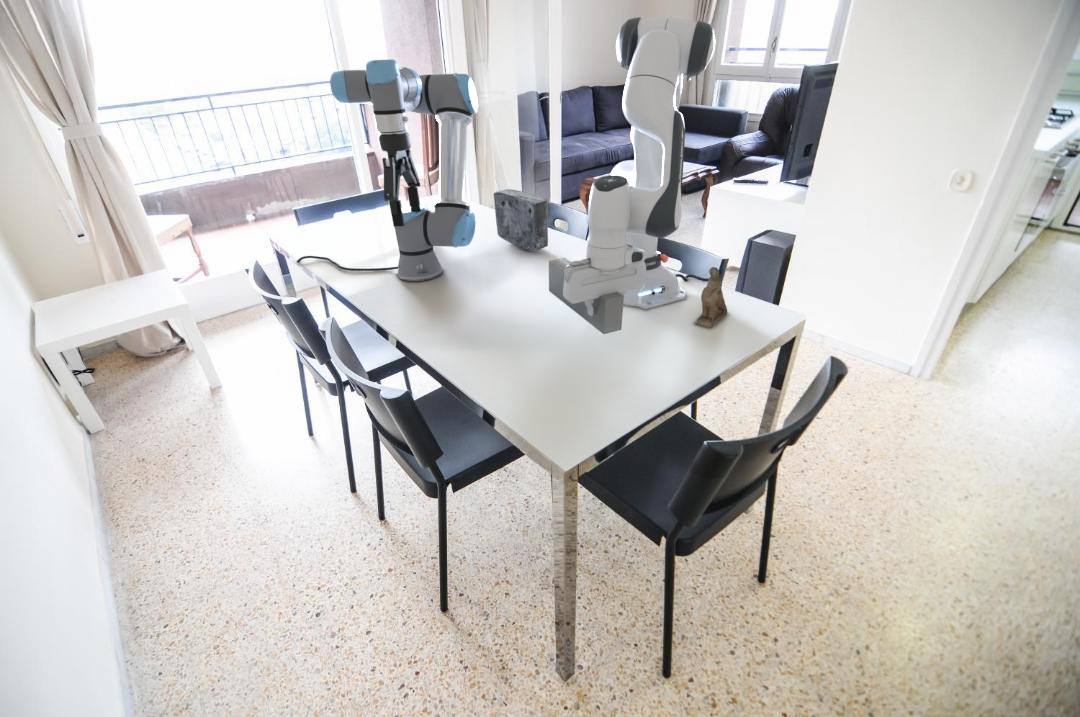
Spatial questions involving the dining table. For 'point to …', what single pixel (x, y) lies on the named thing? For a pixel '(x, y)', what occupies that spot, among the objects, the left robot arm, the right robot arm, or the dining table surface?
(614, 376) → the dining table surface
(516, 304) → the dining table surface
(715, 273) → the brown carved statuette
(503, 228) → the concrete block
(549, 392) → the dining table surface
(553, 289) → the bar
